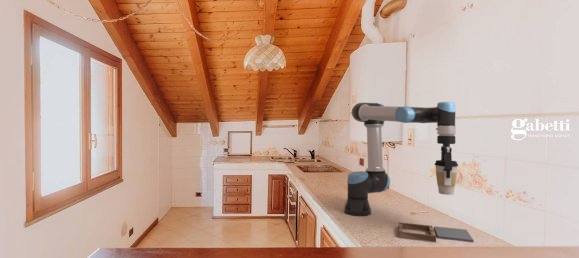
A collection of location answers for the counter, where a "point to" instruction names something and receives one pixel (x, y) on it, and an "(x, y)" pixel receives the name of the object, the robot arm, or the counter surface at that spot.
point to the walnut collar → (416, 235)
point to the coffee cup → (440, 177)
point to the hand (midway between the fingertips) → (446, 183)
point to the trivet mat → (453, 234)
